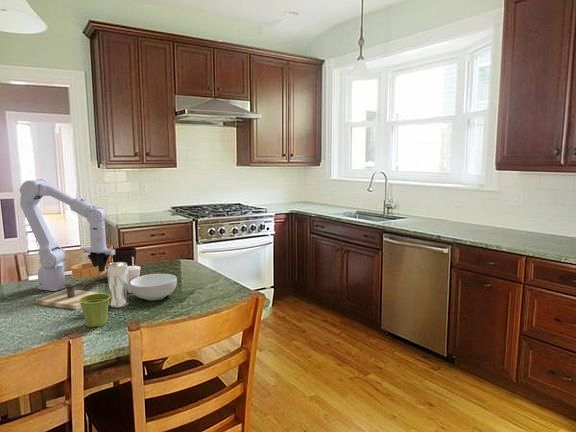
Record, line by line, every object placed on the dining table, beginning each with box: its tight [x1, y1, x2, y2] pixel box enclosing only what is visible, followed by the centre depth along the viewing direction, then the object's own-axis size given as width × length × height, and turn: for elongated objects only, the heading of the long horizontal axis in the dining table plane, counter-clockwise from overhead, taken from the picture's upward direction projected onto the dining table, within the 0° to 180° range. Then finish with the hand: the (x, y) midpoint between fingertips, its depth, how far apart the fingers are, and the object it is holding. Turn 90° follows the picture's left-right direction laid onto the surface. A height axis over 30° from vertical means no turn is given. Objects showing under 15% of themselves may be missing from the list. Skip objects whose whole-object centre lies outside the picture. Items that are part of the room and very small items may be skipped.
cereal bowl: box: [130, 273, 178, 301], centre depth 163 cm, size 17×17×7 cm
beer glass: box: [106, 262, 130, 308], centre depth 154 cm, size 7×7×15 cm
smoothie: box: [127, 257, 142, 294], centre depth 169 cm, size 6×6×14 cm
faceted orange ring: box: [71, 261, 107, 279], centre depth 176 cm, size 12×12×4 cm
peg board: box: [35, 282, 105, 310], centre depth 159 cm, size 18×14×6 cm
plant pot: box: [78, 292, 111, 328], centre depth 137 cm, size 9×9×9 cm
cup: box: [106, 246, 137, 270], centre depth 190 cm, size 10×14×12 cm
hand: (99, 270), depth 175 cm, fingers closed on faceted orange ring, 2 cm apart
